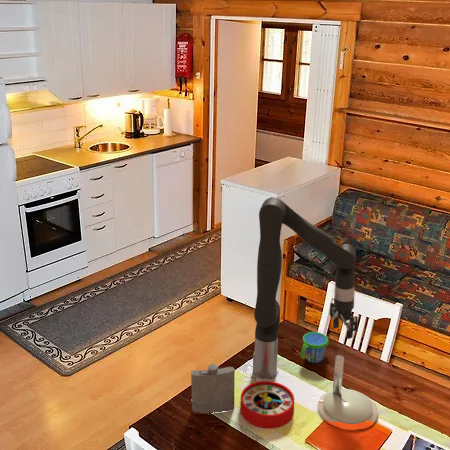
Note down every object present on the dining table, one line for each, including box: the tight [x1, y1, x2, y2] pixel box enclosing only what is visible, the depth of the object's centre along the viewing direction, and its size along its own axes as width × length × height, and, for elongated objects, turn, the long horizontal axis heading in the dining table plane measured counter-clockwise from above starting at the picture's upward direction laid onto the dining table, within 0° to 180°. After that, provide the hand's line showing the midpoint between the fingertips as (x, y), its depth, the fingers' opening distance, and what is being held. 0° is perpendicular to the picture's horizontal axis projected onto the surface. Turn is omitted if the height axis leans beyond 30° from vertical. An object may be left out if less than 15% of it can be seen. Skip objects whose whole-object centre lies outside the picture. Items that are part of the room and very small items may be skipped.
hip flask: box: [190, 363, 236, 413], centre depth 210 cm, size 16×4×20 cm, turn 99°
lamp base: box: [317, 389, 379, 423], centre depth 214 cm, size 22×22×1 cm
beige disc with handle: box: [323, 354, 373, 424], centre depth 210 cm, size 18×18×17 cm
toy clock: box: [239, 380, 295, 430], centre depth 213 cm, size 20×6×20 cm
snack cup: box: [299, 331, 330, 364], centre depth 243 cm, size 16×10×10 cm
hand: (342, 332), depth 221 cm, fingers open, 8 cm apart
